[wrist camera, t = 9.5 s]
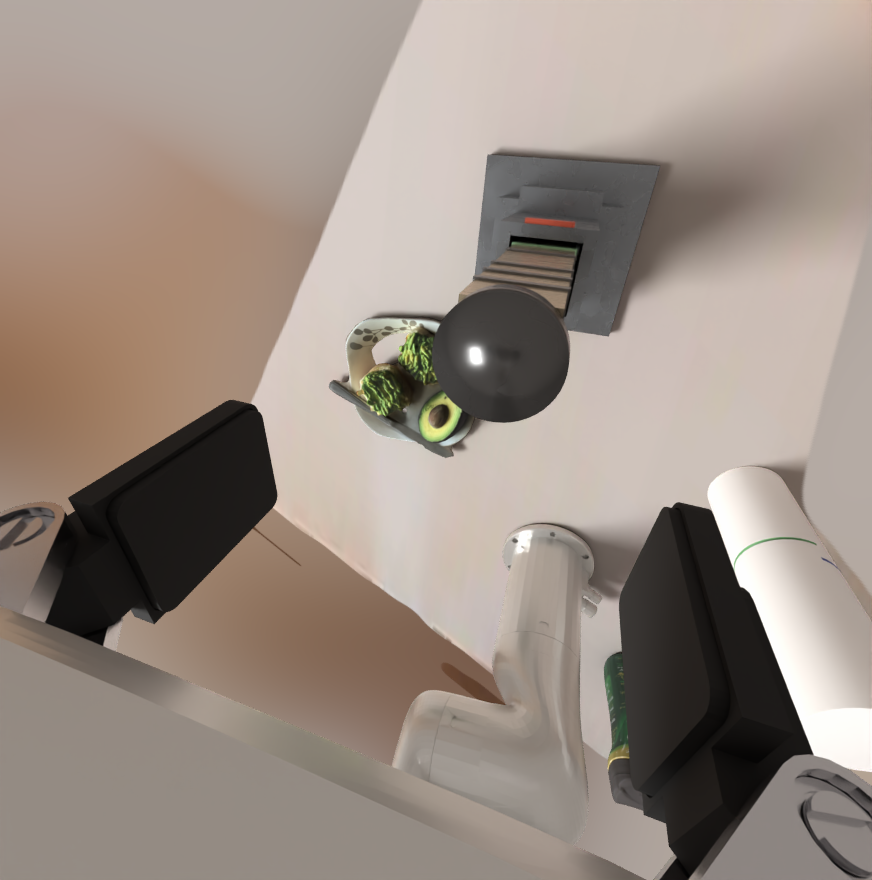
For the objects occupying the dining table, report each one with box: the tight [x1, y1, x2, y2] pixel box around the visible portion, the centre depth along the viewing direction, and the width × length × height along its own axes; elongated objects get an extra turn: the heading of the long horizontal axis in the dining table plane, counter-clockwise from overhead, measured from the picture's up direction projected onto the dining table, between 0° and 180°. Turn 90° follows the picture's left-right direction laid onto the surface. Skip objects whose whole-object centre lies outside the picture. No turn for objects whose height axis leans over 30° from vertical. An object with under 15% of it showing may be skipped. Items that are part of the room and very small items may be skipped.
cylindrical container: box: [708, 466, 872, 772], centre depth 36 cm, size 7×7×25 cm
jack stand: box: [475, 155, 660, 336], centre depth 34 cm, size 14×14×13 cm
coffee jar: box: [604, 654, 643, 810], centre depth 59 cm, size 10×8×19 cm
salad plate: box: [329, 317, 474, 458], centre depth 50 cm, size 19×18×5 cm
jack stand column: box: [432, 237, 578, 423], centre depth 24 cm, size 5×5×22 cm
